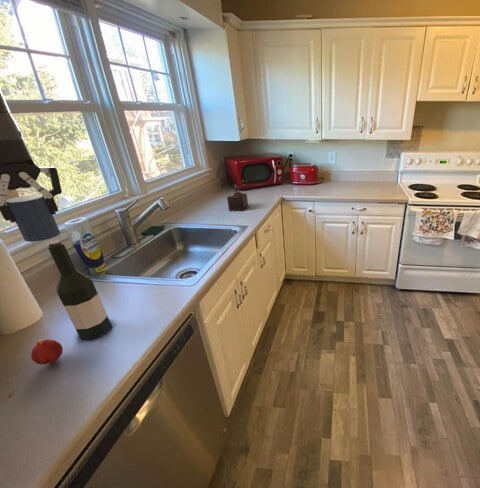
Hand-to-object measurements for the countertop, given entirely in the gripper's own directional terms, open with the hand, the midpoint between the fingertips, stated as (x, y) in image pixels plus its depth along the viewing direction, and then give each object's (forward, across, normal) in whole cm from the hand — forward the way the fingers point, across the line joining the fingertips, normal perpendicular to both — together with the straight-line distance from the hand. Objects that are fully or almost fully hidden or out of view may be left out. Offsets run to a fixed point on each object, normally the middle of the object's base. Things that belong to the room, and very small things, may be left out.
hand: (33, 217), depth 62 cm
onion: (+40, +9, -2) cm, 41 cm away
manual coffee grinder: (+39, -99, -80) cm, 133 cm away
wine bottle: (+39, -2, -8) cm, 40 cm away
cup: (+5, 0, 0) cm, 5 cm away
